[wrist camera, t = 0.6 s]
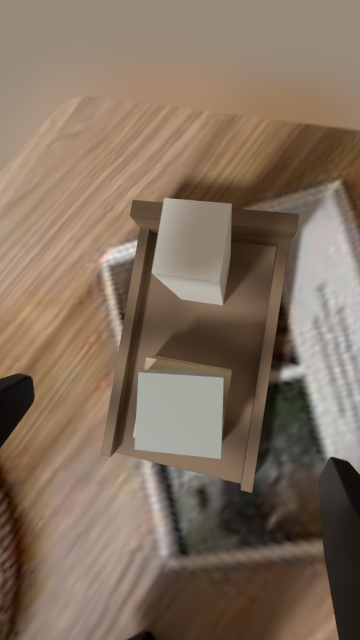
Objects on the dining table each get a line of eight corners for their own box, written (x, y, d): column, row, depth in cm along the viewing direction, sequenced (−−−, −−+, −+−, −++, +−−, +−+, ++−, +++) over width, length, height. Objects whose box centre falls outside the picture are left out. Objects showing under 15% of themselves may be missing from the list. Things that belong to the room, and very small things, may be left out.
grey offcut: (221, 444, 21) (220, 458, 18) (145, 437, 22) (134, 449, 19) (224, 373, 21) (223, 377, 18) (148, 368, 22) (138, 372, 19)
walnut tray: (250, 480, 23) (254, 512, 19) (110, 445, 25) (85, 468, 21) (286, 237, 24) (299, 214, 20) (148, 223, 26) (132, 200, 22)
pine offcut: (219, 445, 23) (218, 457, 21) (142, 427, 24) (132, 437, 22) (231, 369, 23) (231, 372, 21) (154, 355, 24) (146, 357, 22)
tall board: (223, 305, 24) (219, 281, 14) (181, 299, 24) (151, 273, 15) (230, 257, 24) (231, 203, 15) (188, 252, 25) (164, 198, 15)
